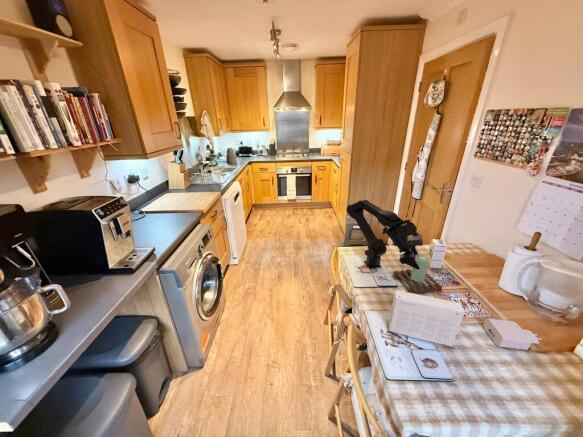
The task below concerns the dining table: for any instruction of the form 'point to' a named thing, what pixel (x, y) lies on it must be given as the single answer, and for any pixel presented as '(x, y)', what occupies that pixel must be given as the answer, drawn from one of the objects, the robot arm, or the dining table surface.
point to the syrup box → (436, 253)
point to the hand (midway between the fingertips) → (418, 263)
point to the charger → (509, 334)
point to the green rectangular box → (423, 265)
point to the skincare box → (425, 317)
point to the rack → (417, 289)
